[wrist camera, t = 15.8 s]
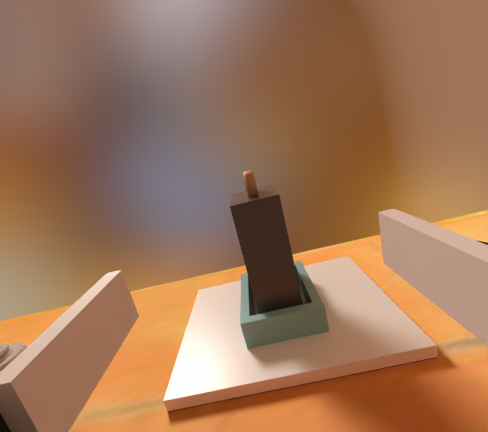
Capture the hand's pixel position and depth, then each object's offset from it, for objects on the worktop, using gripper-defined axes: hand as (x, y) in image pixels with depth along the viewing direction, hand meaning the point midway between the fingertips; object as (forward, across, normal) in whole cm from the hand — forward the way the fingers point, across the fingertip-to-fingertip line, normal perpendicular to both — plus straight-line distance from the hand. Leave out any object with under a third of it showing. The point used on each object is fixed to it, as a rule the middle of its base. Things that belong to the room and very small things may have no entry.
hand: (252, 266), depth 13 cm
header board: (+11, +1, -12) cm, 16 cm away
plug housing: (+11, +1, -10) cm, 15 cm away
